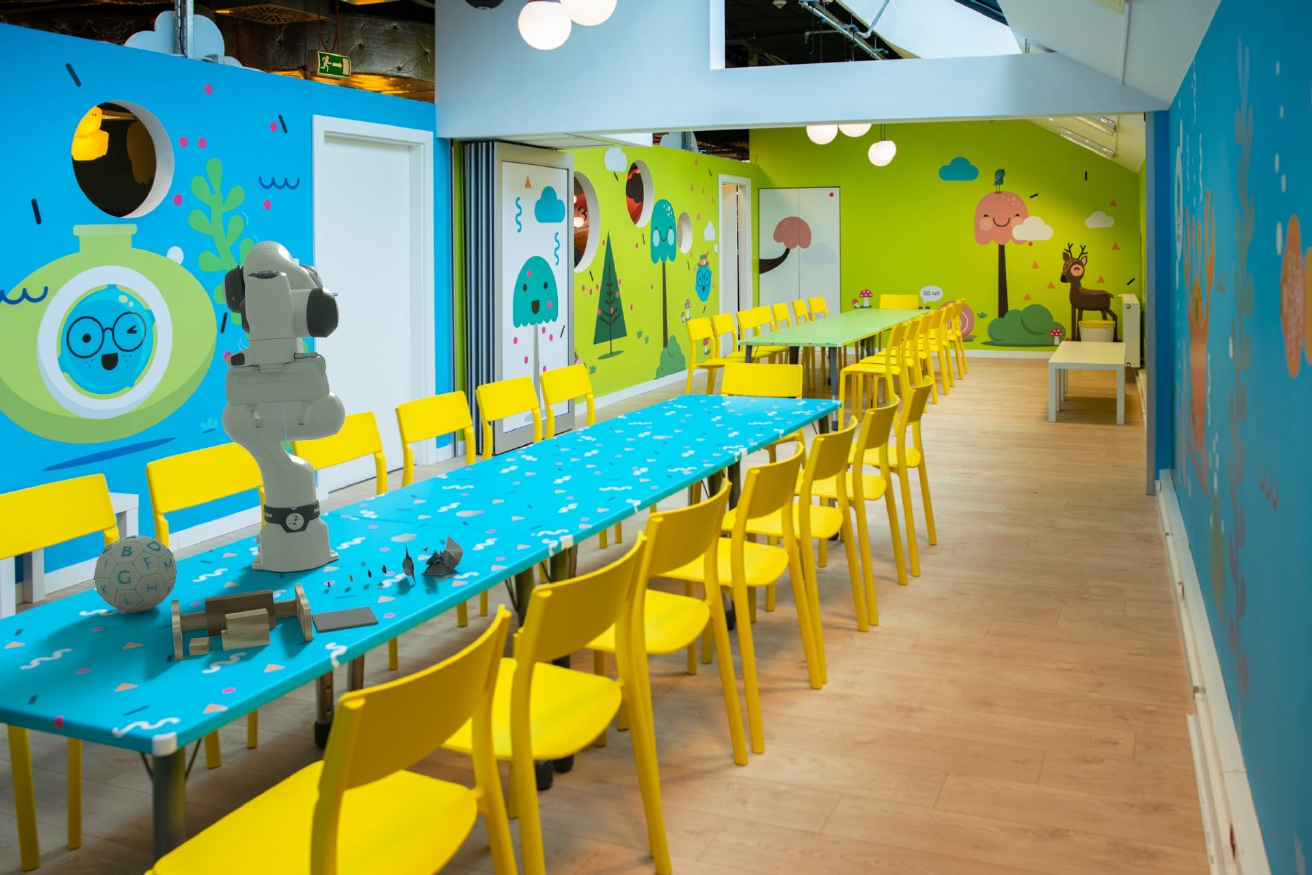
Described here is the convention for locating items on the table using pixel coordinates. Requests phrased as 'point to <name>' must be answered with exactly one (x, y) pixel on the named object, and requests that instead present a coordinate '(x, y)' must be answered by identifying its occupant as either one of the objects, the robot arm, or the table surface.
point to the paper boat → (446, 559)
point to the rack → (282, 609)
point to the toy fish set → (410, 565)
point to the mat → (344, 619)
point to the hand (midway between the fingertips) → (281, 426)
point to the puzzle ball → (135, 573)
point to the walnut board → (236, 608)
